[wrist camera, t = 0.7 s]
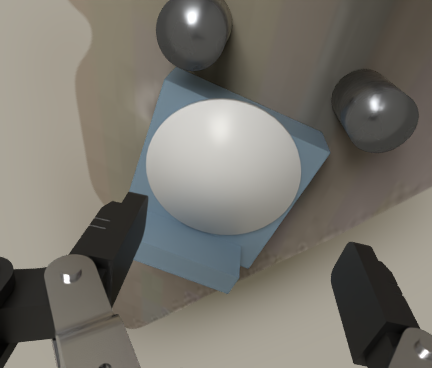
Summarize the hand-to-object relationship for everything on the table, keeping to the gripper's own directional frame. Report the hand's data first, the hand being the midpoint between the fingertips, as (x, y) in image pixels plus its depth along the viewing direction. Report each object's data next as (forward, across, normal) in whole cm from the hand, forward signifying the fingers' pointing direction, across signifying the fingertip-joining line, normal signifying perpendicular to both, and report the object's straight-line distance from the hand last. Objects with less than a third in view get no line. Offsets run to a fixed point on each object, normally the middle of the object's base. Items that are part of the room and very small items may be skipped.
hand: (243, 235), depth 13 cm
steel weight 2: (+18, -9, -3) cm, 20 cm away
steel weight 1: (+18, +5, -5) cm, 19 cm away
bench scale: (+18, +1, +7) cm, 20 cm away
